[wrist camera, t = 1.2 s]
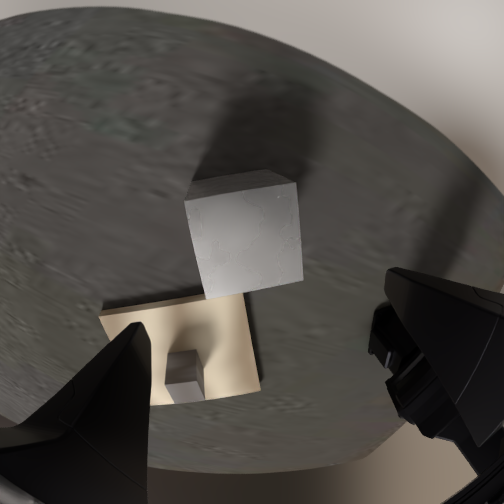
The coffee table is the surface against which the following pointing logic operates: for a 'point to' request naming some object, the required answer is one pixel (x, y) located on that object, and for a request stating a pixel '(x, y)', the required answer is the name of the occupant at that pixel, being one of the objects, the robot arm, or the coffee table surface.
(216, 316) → the post board
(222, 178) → the grey block
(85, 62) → the coffee table surface
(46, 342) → the coffee table surface
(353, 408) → the coffee table surface
